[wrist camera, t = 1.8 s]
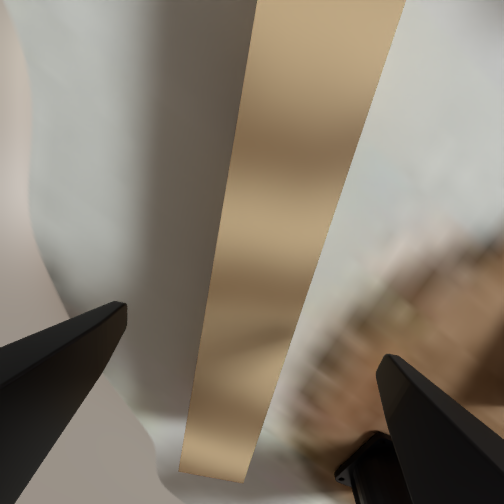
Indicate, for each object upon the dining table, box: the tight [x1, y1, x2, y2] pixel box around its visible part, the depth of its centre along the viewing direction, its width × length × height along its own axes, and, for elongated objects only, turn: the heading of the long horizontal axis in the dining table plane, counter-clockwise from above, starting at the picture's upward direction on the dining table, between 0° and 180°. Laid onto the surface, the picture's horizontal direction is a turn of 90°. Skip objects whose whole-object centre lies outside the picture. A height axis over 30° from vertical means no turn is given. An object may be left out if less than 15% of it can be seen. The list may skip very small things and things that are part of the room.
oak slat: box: [178, 0, 406, 483], centre depth 13 cm, size 26×4×5 cm, turn 168°
